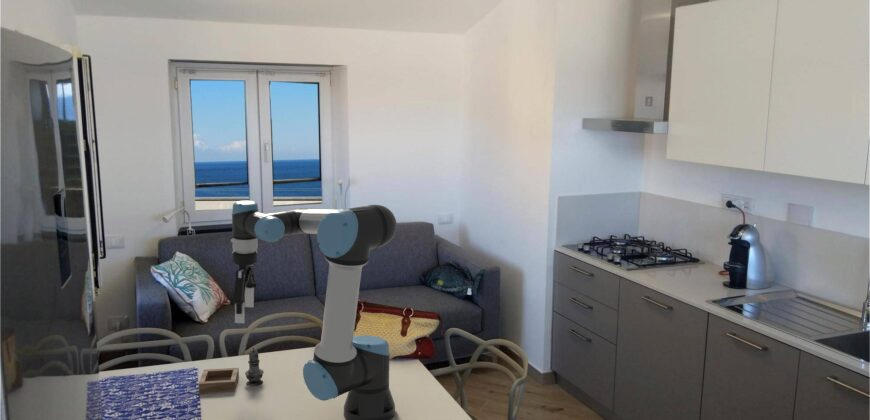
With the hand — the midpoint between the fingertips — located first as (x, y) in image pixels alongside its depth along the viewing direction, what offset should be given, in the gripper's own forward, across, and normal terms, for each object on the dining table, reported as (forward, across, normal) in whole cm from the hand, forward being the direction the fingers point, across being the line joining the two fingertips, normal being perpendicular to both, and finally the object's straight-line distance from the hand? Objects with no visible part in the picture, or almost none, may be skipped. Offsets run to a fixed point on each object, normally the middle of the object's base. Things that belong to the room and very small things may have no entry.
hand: (244, 314), depth 210 cm
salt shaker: (+24, 0, +3) cm, 24 cm away
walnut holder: (+24, +1, -8) cm, 25 cm away
